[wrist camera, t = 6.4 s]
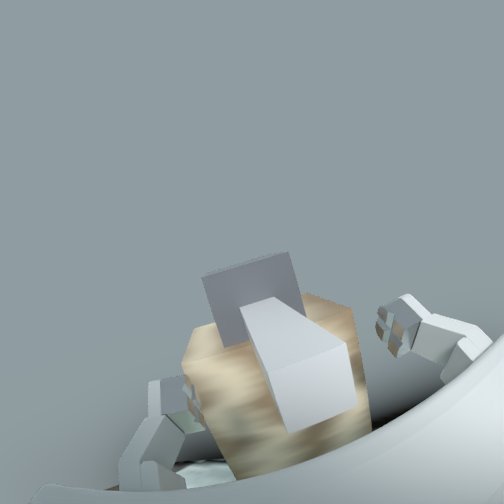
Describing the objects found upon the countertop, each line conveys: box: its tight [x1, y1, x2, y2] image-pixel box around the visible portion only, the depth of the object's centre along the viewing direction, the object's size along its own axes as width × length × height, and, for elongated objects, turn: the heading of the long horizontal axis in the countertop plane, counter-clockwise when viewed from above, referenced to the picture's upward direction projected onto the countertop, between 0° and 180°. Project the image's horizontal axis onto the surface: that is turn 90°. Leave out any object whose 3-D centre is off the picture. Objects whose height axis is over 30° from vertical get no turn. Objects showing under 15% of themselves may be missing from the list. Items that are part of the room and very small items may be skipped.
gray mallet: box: [202, 252, 358, 434], centre depth 16 cm, size 6×18×5 cm, turn 7°
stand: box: [181, 293, 372, 481], centre depth 22 cm, size 12×10×26 cm
